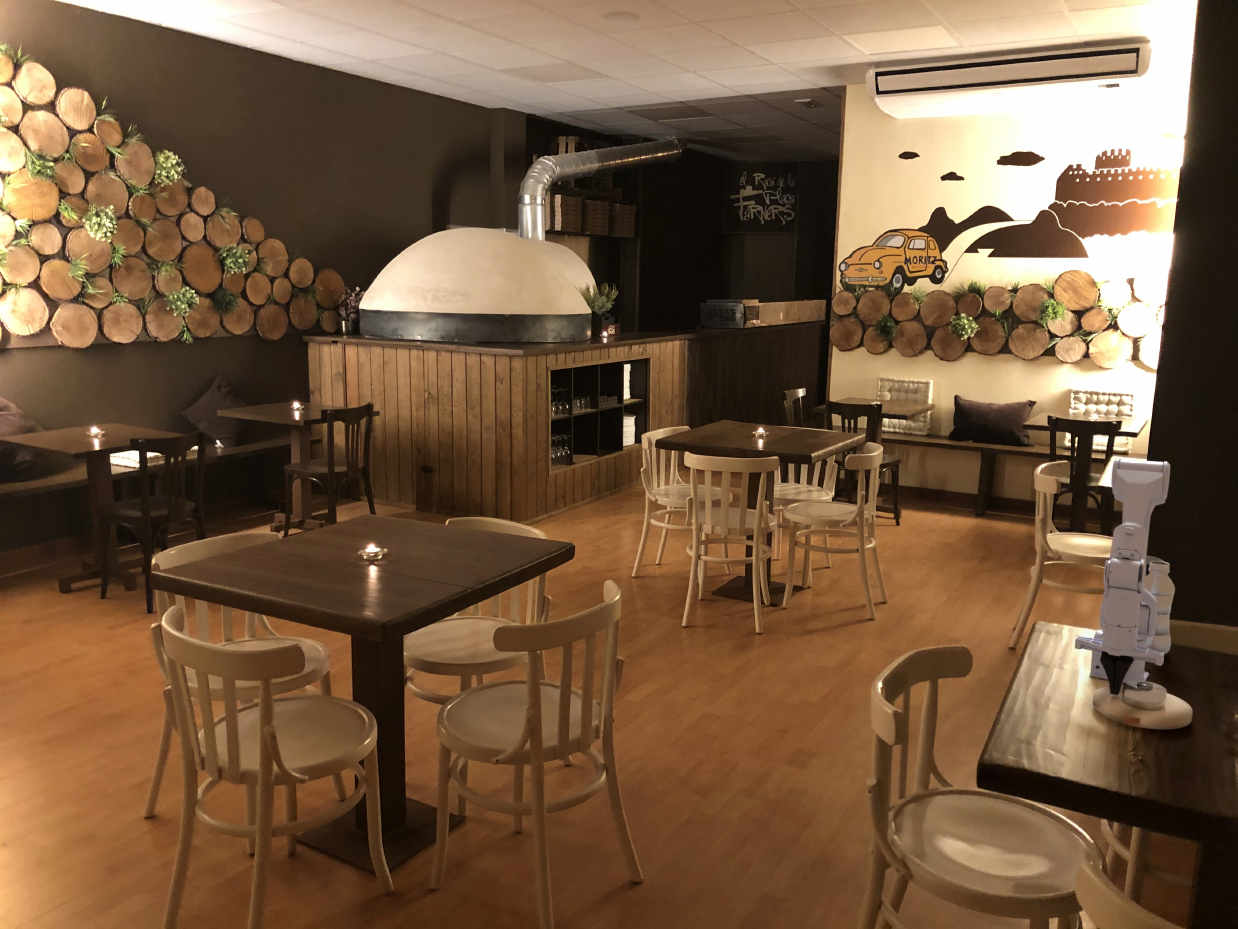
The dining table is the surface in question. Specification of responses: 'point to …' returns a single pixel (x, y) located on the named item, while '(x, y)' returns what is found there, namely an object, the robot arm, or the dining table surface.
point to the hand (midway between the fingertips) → (1115, 692)
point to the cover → (1144, 695)
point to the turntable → (1168, 718)
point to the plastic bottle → (1160, 604)
